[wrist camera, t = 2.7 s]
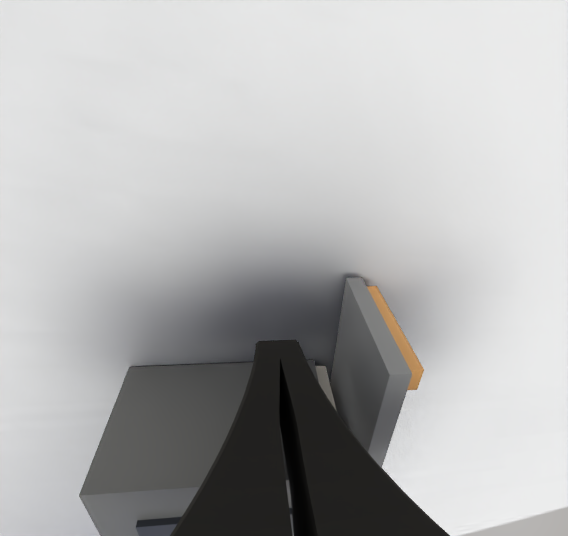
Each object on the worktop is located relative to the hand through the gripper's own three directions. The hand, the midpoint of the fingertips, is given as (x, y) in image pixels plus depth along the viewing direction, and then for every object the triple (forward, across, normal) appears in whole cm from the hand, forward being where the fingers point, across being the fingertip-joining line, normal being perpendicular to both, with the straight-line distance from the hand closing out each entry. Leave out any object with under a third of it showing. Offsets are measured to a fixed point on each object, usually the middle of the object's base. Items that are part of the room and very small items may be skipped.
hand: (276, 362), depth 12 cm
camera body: (+2, +2, +8) cm, 8 cm away
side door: (+2, -3, +5) cm, 6 cm away
